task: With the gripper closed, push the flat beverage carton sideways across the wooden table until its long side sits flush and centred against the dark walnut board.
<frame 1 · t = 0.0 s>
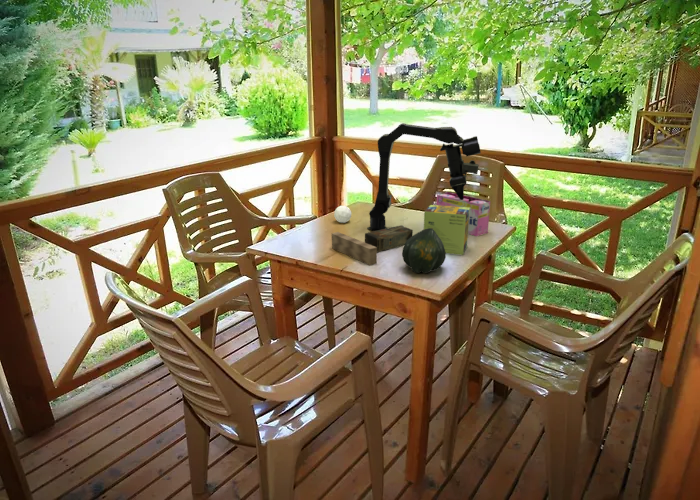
hand: (462, 197, 201), 15 cm above the table, tool pointing down, fingers open, 9 cm apart
beverage carton: (388, 246, 194), on the table
gum box: (460, 229, 213), on the table
squash: (423, 269, 171), on the table
protein box: (445, 249, 189), on the table
ball: (343, 222, 224), on the table
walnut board: (353, 255, 184), on the table
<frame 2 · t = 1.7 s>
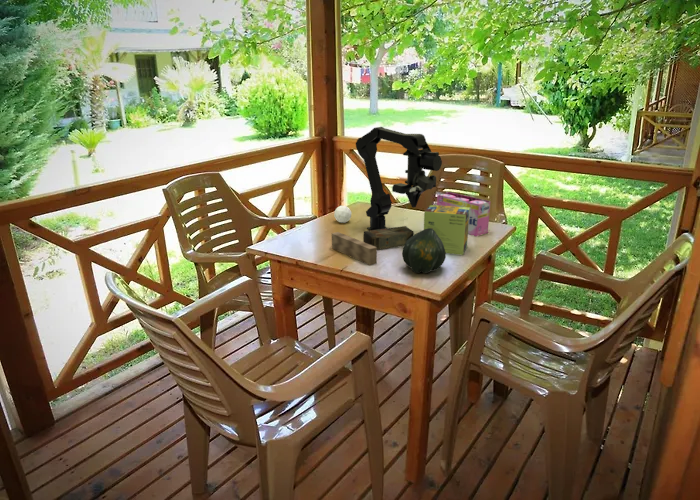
hand: (413, 207, 197), 13 cm above the table, tool pointing down, fingers closed
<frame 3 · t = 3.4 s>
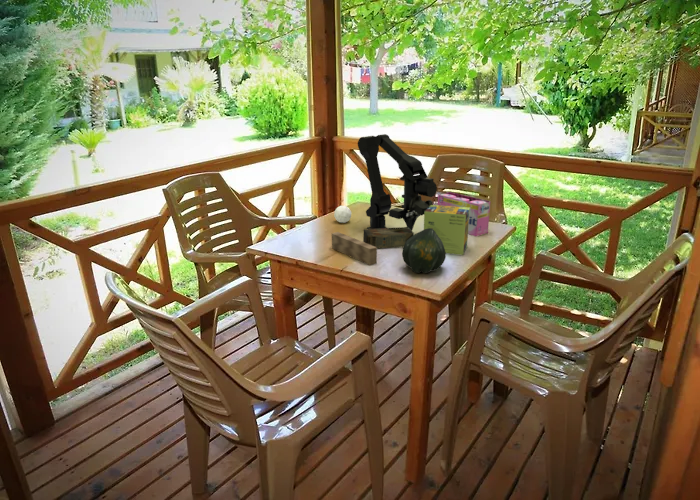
hand: (410, 230, 199), 4 cm above the table, tool pointing down, fingers closed
beverage carton: (388, 245, 195), on the table, touching gripper
everything else where it was.
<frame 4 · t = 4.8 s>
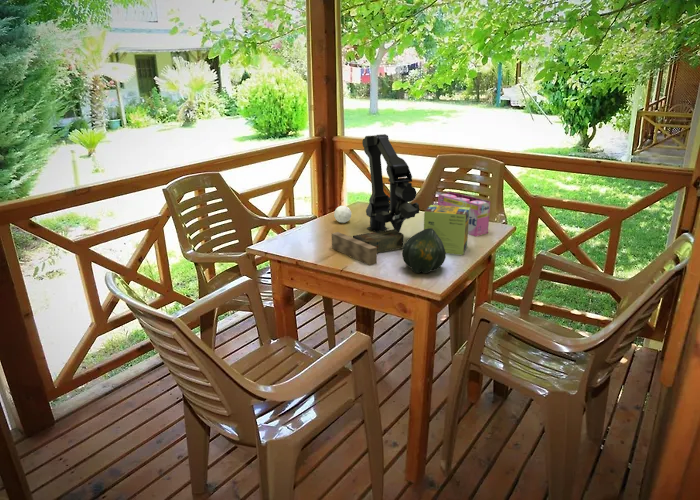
hand: (397, 233, 195), 4 cm above the table, tool pointing down, fingers closed
beverage carton: (378, 250, 190), on the table, touching gripper, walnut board
everything else where it was.
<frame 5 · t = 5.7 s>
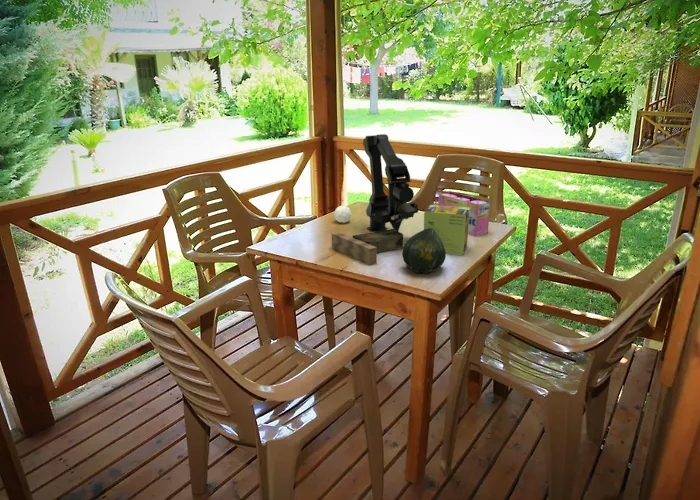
hand: (396, 233, 196), 4 cm above the table, tool pointing down, fingers closed
nothing on the table moved.
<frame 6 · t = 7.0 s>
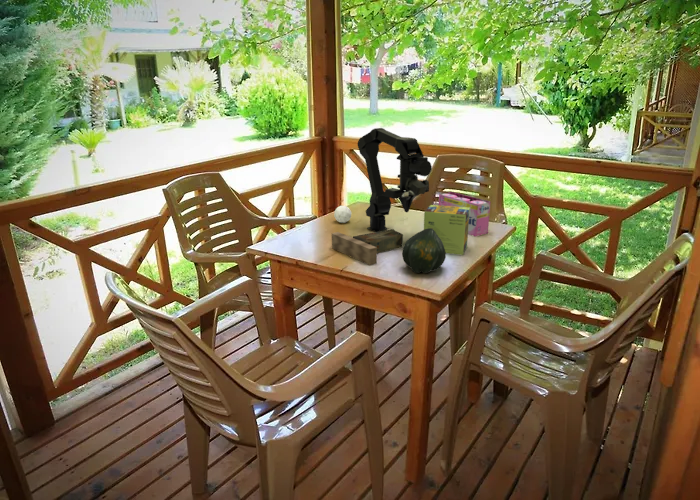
hand: (406, 212, 195), 12 cm above the table, tool pointing down, fingers closed
beverage carton: (377, 250, 190), on the table
everything else where it was.
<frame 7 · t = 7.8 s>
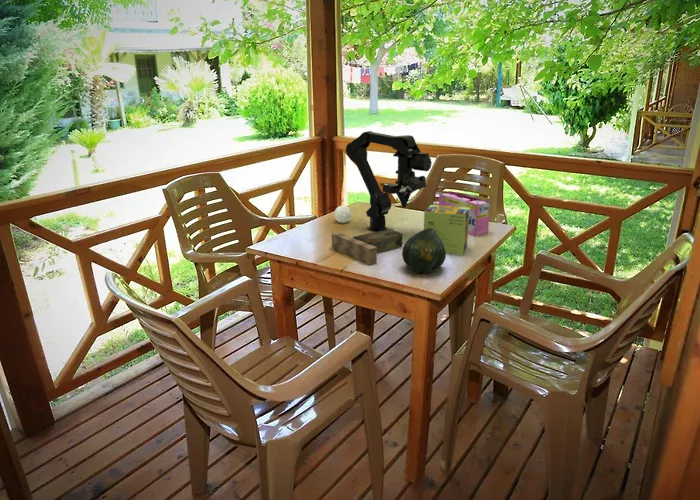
hand: (404, 206, 201), 12 cm above the table, tool pointing down, fingers closed
nothing on the table moved.
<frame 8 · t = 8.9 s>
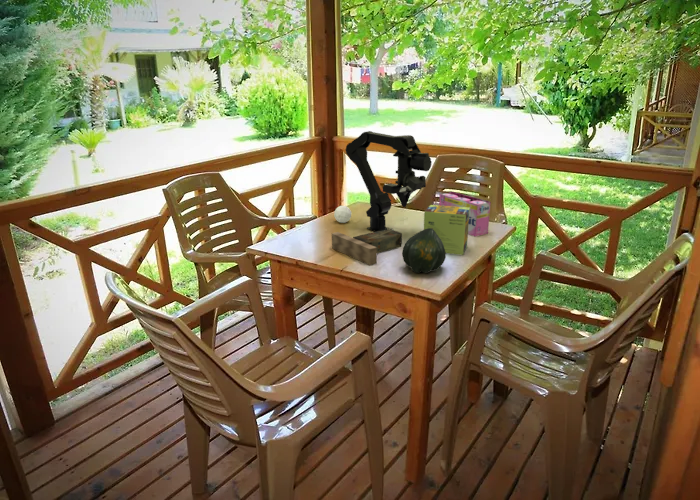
hand: (404, 206, 201), 12 cm above the table, tool pointing down, fingers closed
nothing on the table moved.
at the end: beverage carton 0.9 cm from the target spot on the table beside the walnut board, on the table; beverage carton tilted 1° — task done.
